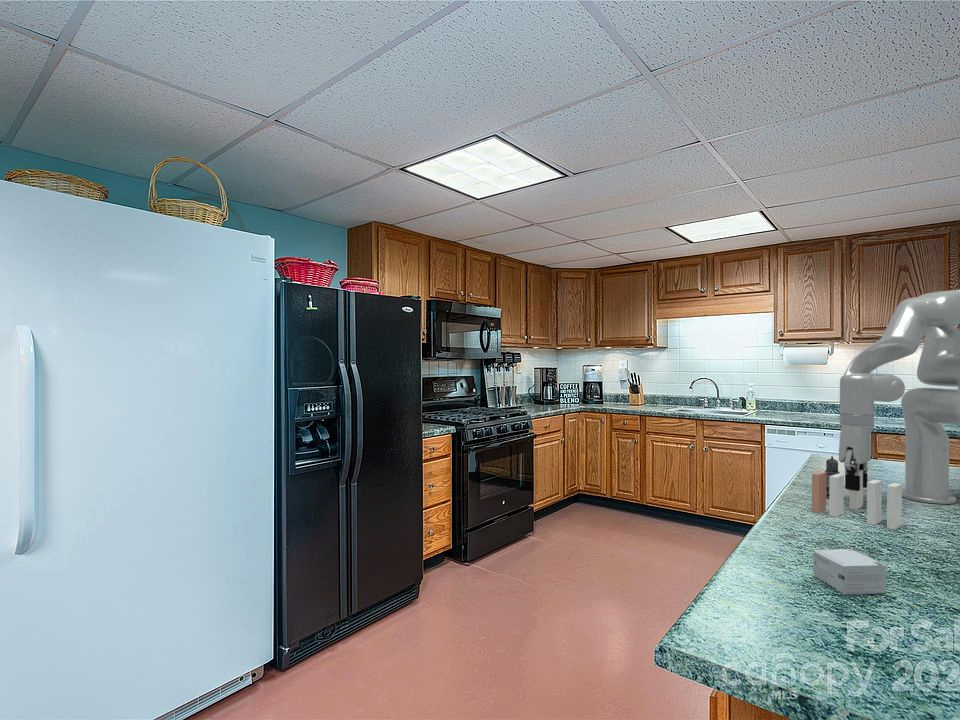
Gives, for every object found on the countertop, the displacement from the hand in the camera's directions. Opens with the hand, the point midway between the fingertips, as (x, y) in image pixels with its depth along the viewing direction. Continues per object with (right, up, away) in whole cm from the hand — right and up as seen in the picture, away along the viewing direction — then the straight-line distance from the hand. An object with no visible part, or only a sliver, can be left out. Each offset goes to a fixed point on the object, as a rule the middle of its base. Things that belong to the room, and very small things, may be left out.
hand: (856, 487), depth 140 cm
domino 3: (-4, -6, -12) cm, 14 cm away
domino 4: (-2, -6, -15) cm, 17 cm away
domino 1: (-9, -6, -6) cm, 12 cm away
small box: (-36, -6, -47) cm, 59 cm away
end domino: (-12, -6, -3) cm, 13 cm away
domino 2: (0, -6, 0) cm, 6 cm away
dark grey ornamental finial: (+1, -6, +11) cm, 12 cm away
